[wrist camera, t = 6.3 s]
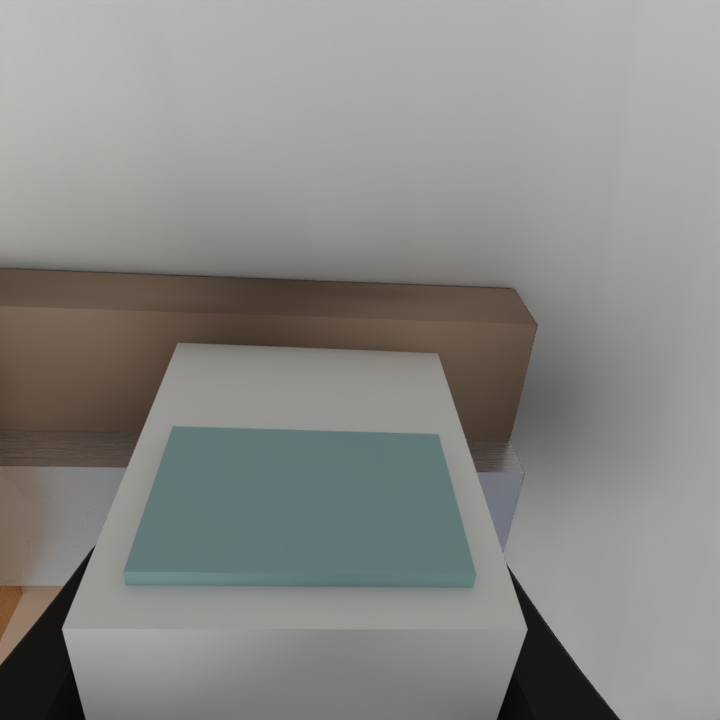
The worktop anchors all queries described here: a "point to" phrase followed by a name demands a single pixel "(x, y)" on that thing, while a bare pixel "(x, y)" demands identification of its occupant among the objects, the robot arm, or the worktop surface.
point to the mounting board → (231, 327)
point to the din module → (297, 549)
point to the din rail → (99, 488)
